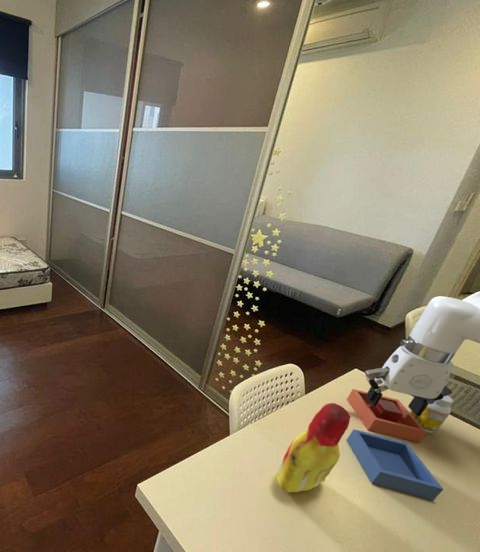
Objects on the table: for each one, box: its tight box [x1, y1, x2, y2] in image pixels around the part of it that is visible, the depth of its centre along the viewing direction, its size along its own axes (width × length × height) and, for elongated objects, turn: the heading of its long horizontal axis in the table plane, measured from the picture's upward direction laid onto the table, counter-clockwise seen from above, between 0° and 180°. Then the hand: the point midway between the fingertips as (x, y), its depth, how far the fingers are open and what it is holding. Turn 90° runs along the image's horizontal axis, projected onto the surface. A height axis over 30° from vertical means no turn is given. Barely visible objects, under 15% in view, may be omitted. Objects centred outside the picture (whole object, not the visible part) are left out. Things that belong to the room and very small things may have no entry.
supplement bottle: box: [409, 395, 454, 434], centre depth 79 cm, size 5×5×10 cm
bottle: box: [276, 402, 351, 493], centre depth 59 cm, size 12×6×20 cm, turn 112°
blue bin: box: [346, 428, 444, 502], centre depth 68 cm, size 11×11×4 cm
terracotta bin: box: [346, 388, 428, 444], centre depth 80 cm, size 11×11×4 cm
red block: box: [369, 399, 403, 423], centre depth 80 cm, size 4×4×4 cm
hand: (391, 406), depth 79 cm, fingers open, 8 cm apart
